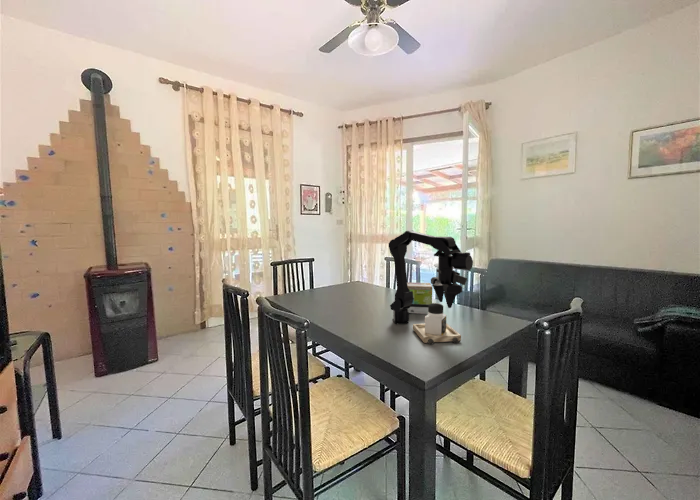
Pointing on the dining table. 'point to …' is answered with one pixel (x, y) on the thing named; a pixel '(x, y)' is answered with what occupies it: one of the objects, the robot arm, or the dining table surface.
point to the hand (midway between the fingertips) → (445, 304)
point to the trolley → (429, 338)
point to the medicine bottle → (435, 320)
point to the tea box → (420, 297)
